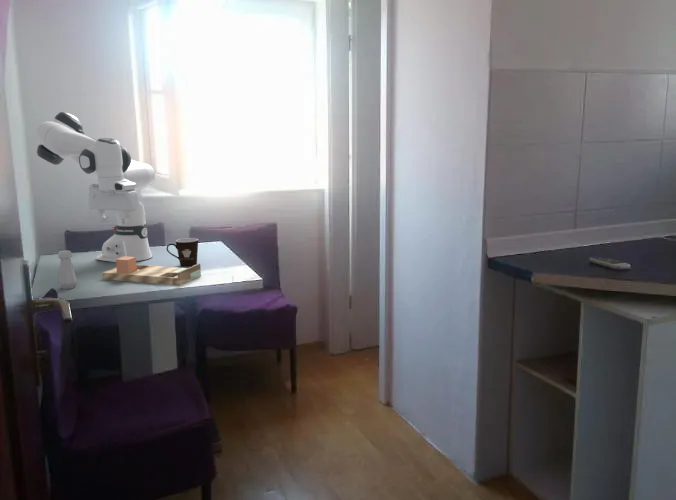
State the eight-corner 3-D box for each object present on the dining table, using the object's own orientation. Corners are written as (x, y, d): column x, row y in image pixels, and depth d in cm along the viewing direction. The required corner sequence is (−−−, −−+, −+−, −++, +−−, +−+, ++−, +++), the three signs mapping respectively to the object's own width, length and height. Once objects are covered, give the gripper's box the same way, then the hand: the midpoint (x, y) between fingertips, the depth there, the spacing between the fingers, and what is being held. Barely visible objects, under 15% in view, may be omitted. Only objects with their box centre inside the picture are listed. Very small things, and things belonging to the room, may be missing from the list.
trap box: (102, 279, 229) (101, 267, 228) (126, 270, 242) (125, 258, 241) (180, 285, 220) (179, 272, 219) (200, 275, 233) (200, 263, 232)
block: (116, 272, 228) (115, 259, 227) (125, 269, 233) (124, 256, 232) (128, 273, 227) (127, 260, 226) (137, 270, 231) (136, 257, 230)
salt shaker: (62, 285, 221) (58, 249, 218) (79, 285, 222) (75, 248, 219) (56, 290, 215) (52, 252, 213) (74, 289, 216) (70, 252, 213)
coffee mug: (203, 263, 252) (202, 238, 250) (192, 268, 244) (190, 242, 242) (178, 261, 256) (177, 237, 254) (166, 266, 248) (164, 241, 246)
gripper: (82, 184, 228) (86, 222, 231) (128, 185, 220) (131, 225, 223) (95, 182, 234) (98, 220, 237) (140, 184, 226) (143, 222, 229)
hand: (115, 222), depth 230 cm, fingers open, 8 cm apart
